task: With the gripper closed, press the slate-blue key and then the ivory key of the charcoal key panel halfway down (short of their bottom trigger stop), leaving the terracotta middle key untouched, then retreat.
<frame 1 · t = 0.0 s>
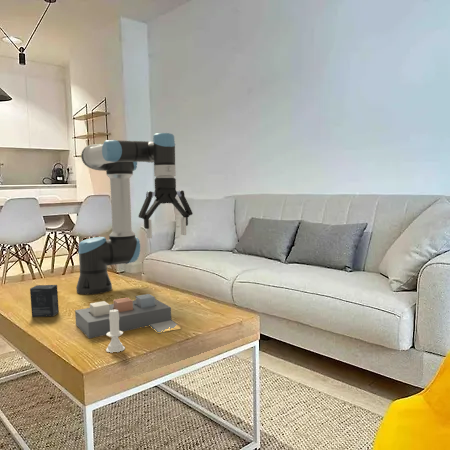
hand: (166, 236, 159), 28 cm above the table, fingers open, 13 cm apart
slate key: (145, 302, 153), point 6 cm above the table, slide at 0.0 cm
ivory key: (99, 309, 144), point 6 cm above the table, slide at 0.0 cm
smartphone: (162, 326, 147), on the table
key panel: (123, 323, 149), on the table
terracotta key: (123, 305, 149), point 6 cm above the table, slide at 0.0 cm
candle: (115, 350, 126), on the table
box: (45, 315, 161), on the table
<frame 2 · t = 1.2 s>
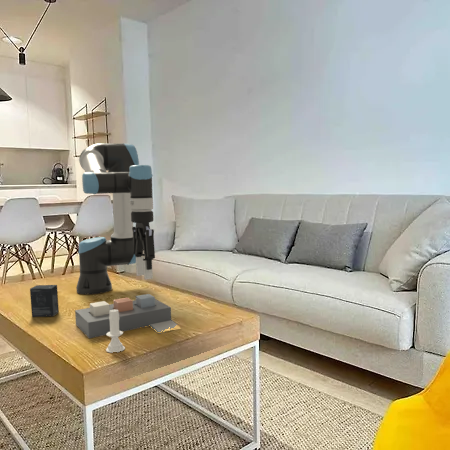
hand: (144, 276, 152), 15 cm above the table, fingers open, 6 cm apart
nothing on the table moved.
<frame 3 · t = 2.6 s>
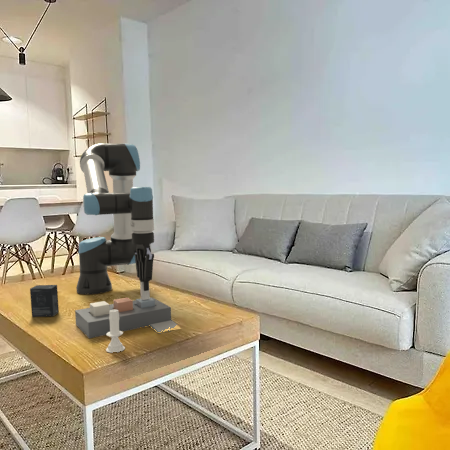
hand: (145, 299, 153), 7 cm above the table, fingers closed
slate key: (145, 305, 153), point 5 cm above the table, slide at 1.2 cm, touching gripper
everything else where it was.
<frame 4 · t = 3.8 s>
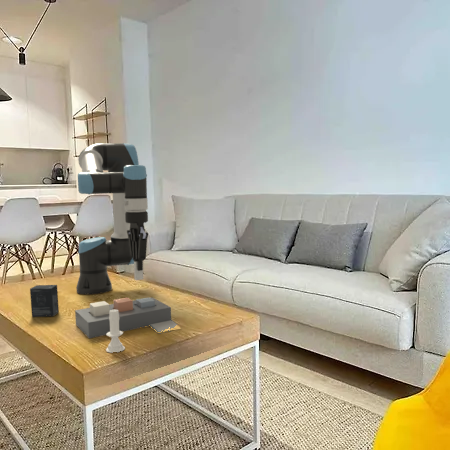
hand: (138, 279, 151), 14 cm above the table, fingers closed
slate key: (145, 305, 153), point 5 cm above the table, slide at 1.3 cm
everything else where it was.
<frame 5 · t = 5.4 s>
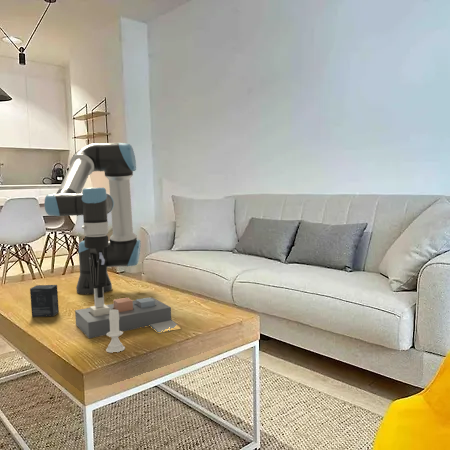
hand: (99, 306, 144), 7 cm above the table, fingers closed
ivory key: (99, 313, 144), point 5 cm above the table, slide at 1.1 cm, touching gripper
everything else where it was.
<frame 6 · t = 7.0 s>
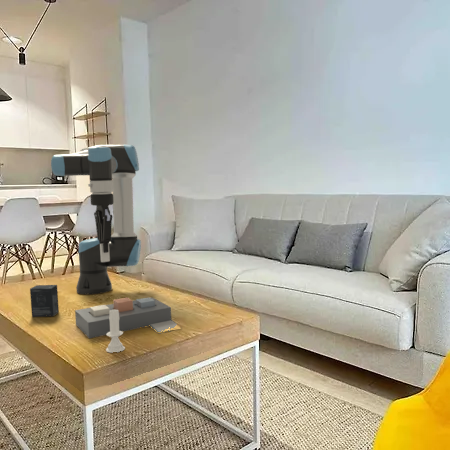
hand: (105, 261, 152), 21 cm above the table, fingers closed
ivory key: (99, 313, 144), point 5 cm above the table, slide at 1.3 cm
everything else where it was.
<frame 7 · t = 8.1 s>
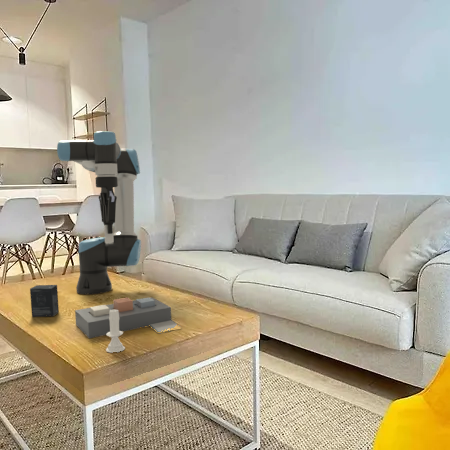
hand: (109, 242, 157), 26 cm above the table, fingers closed
nothing on the table moved.
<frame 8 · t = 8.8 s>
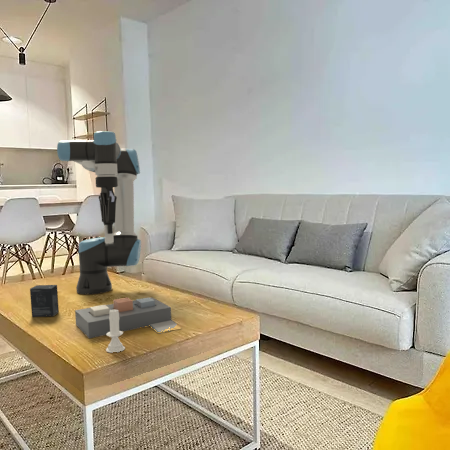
hand: (109, 242, 157), 26 cm above the table, fingers closed
nothing on the table moved.
at the end: slate key slide at 1.3 cm; ivory key slide at 1.3 cm; terracotta key slide at 0.0 cm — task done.
